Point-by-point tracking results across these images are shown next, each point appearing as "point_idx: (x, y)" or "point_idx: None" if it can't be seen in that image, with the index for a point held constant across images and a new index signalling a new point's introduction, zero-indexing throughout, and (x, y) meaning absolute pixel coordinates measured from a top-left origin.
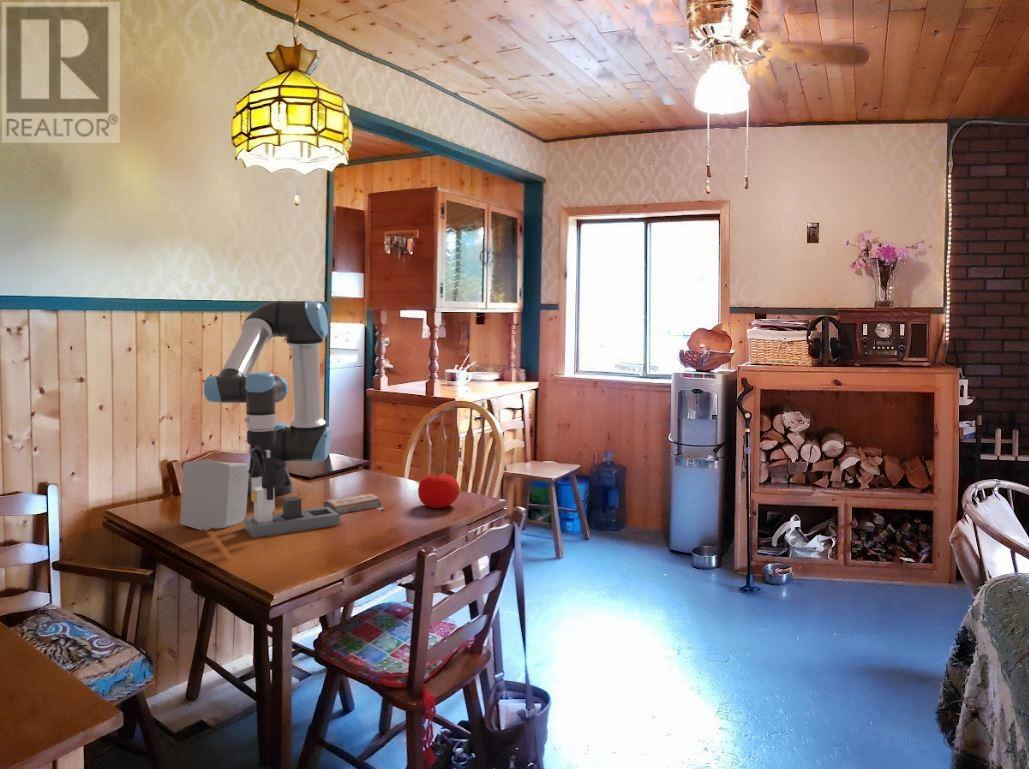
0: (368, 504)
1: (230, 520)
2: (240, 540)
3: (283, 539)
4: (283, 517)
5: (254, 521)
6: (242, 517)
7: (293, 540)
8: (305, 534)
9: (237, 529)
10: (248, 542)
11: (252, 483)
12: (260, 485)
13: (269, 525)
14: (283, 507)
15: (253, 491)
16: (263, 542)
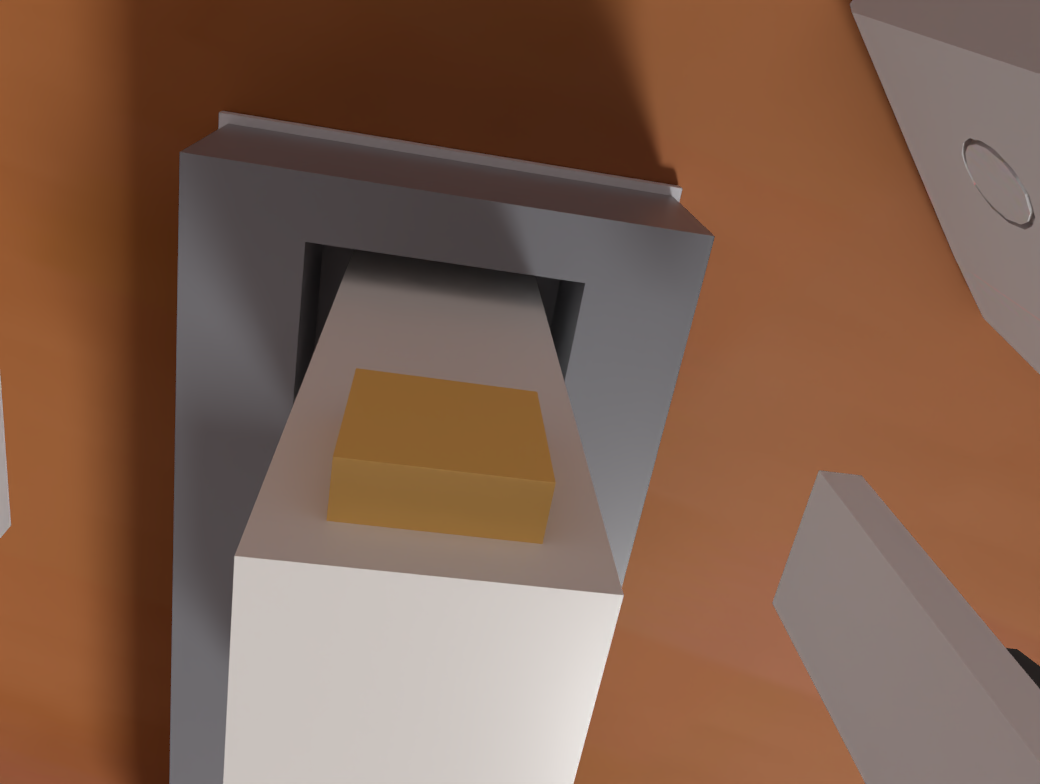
0: None
1: (914, 106)
2: (363, 9)
3: (125, 409)
4: None
5: (524, 301)
6: (1005, 320)
7: (35, 470)
8: None
9: (818, 166)
10: (222, 56)
11: (981, 699)
12: (881, 779)
13: (182, 369)
14: None
15: (514, 519)
16: (126, 200)
